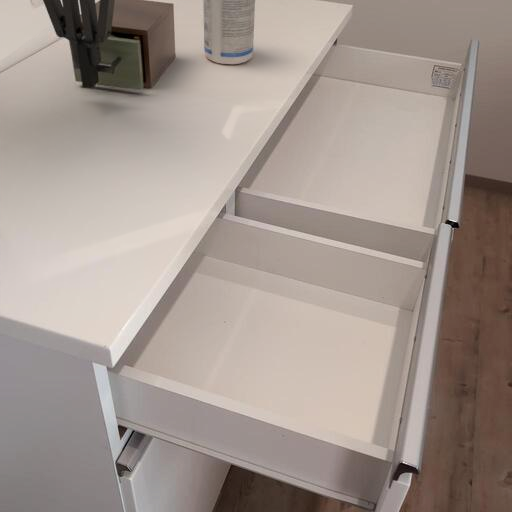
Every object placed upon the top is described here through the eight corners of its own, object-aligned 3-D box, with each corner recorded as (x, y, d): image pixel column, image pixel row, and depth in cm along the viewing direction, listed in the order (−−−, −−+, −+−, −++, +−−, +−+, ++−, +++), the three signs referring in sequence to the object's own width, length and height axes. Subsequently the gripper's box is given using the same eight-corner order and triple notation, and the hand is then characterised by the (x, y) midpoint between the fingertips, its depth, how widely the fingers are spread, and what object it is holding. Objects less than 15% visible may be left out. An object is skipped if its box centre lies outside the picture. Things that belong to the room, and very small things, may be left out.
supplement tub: (259, 53, 109) (265, -27, 100) (240, 70, 102) (244, -15, 93) (216, 44, 112) (217, -35, 102) (194, 59, 105) (193, -24, 95)
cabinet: (151, 88, 94) (147, 30, 88) (80, 78, 95) (71, 20, 89) (175, 57, 105) (173, 3, 99) (112, 48, 106) (106, -5, 100)
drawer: (131, 103, 87) (126, 54, 82) (62, 93, 89) (53, 44, 83) (165, 60, 101) (163, 16, 96) (105, 52, 102) (100, 8, 97)
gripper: (1, -94, 67) (39, 88, 83) (102, -83, 66) (122, 100, 81) (31, -103, 73) (62, 69, 88) (124, -93, 72) (139, 80, 87)
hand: (90, 84), depth 85 cm, fingers closed
